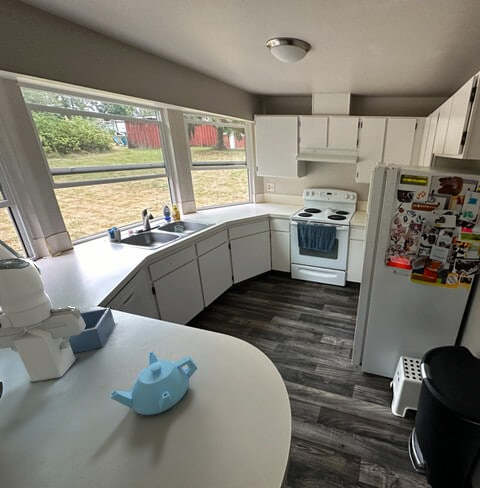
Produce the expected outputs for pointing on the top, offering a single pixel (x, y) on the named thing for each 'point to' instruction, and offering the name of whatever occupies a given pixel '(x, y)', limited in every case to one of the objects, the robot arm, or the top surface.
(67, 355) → the milk carton
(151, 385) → the teapot
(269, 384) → the top surface
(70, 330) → the robot arm
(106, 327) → the tub
